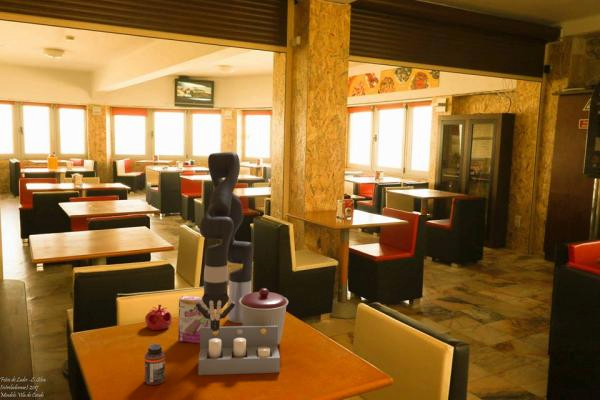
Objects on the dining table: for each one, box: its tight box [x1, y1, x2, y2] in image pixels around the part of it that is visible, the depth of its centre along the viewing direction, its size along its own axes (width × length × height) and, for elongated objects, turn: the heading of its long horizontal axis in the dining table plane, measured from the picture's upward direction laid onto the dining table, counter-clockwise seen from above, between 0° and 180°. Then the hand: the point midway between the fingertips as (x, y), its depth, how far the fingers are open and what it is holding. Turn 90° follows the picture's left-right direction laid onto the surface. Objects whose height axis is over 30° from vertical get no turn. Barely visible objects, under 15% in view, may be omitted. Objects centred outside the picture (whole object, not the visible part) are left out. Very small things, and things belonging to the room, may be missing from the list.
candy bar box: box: [177, 295, 211, 344], centre depth 180 cm, size 11×5×16 cm, turn 84°
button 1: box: [209, 338, 221, 358], centre depth 158 cm, size 4×4×5 cm
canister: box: [239, 287, 289, 346], centre depth 179 cm, size 18×18×21 cm
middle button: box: [233, 338, 246, 357], centre depth 159 cm, size 4×4×5 cm
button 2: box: [258, 347, 270, 357], centre depth 161 cm, size 4×4×5 cm
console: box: [197, 325, 281, 376], centre depth 161 cm, size 10×26×12 cm, turn 98°
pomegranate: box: [144, 304, 172, 331], centre depth 192 cm, size 10×10×9 cm
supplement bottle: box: [144, 343, 166, 386], centre depth 149 cm, size 6×6×11 cm
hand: (214, 330), depth 157 cm, fingers closed
